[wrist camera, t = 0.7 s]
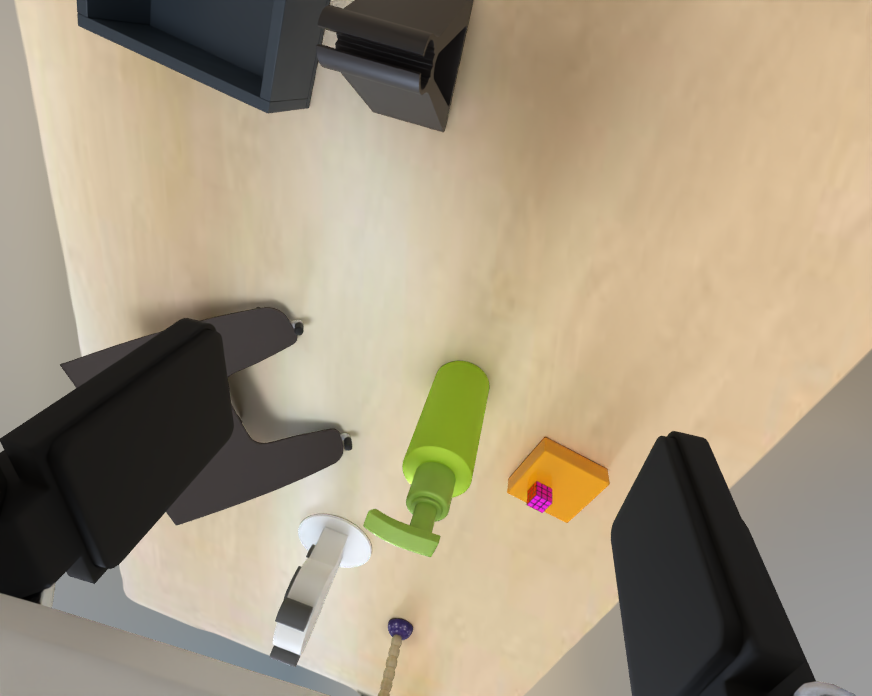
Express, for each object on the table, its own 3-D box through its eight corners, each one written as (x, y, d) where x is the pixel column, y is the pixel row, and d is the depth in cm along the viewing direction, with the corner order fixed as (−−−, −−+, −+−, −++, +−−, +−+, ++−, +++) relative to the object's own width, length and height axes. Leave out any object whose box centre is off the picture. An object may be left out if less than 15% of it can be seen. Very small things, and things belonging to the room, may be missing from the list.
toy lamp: (420, 626, 75) (390, 753, 61) (409, 638, 77) (379, 762, 63) (393, 614, 75) (358, 739, 61) (384, 626, 77) (348, 748, 63)
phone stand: (444, 132, 37) (405, 153, 27) (374, 111, 37) (309, 124, 27) (475, -5, 32) (442, -43, 22) (394, -28, 32) (324, -75, 22)
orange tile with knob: (544, 436, 50) (544, 463, 47) (608, 469, 51) (612, 498, 47) (508, 478, 54) (505, 507, 51) (566, 508, 55) (567, 538, 51)
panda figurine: (304, 500, 65) (244, 603, 52) (379, 528, 64) (338, 639, 52) (295, 549, 71) (241, 650, 58) (364, 574, 71) (324, 682, 58)
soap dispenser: (435, 348, 47) (372, 498, 31) (497, 373, 47) (469, 537, 30) (419, 390, 51) (354, 547, 34) (477, 413, 50) (441, 582, 34)
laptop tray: (355, 428, 64) (362, 470, 55) (189, 487, 61) (171, 540, 53) (292, 273, 53) (288, 297, 45) (89, 336, 51) (46, 373, 43)
